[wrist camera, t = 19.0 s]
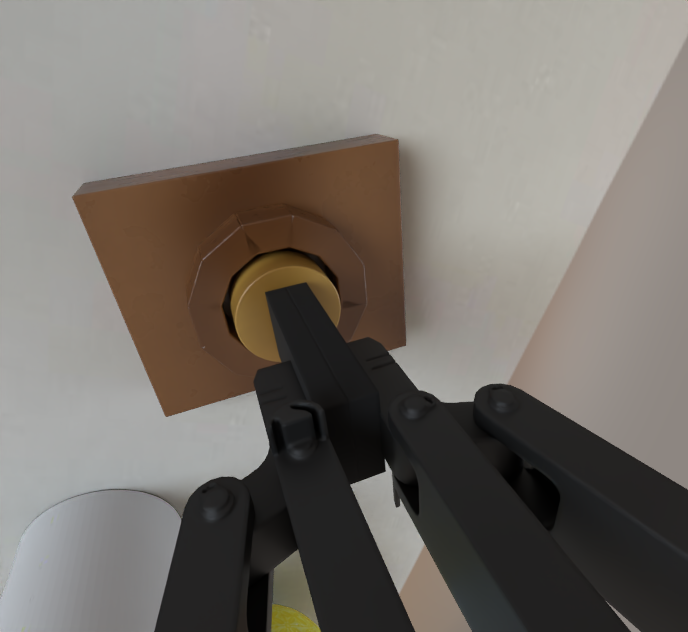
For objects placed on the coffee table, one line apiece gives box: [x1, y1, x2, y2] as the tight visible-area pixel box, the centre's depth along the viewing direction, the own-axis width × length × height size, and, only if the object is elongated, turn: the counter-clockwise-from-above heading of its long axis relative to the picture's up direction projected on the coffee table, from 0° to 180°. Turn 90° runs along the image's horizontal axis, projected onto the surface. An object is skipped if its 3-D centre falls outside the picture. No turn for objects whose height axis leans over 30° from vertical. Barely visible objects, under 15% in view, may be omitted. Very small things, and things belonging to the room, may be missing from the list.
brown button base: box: [72, 134, 406, 417], centre depth 18 cm, size 12×10×4 cm
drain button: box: [230, 251, 341, 362], centre depth 17 cm, size 4×4×2 cm
